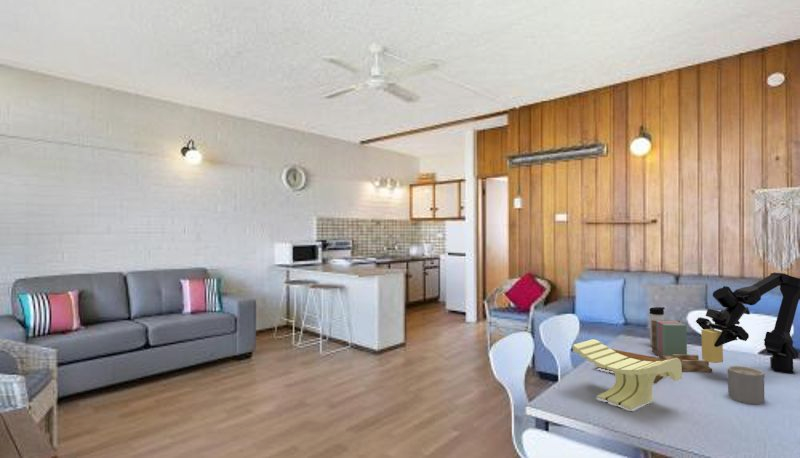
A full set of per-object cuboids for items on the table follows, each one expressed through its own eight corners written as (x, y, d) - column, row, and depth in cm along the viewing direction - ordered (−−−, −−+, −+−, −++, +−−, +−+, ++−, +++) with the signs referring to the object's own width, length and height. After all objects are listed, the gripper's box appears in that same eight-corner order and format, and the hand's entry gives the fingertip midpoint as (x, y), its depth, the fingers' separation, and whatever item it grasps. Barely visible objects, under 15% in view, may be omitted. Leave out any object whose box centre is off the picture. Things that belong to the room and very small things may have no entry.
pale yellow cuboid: (711, 358, 173) (710, 328, 173) (722, 362, 168) (722, 331, 168) (702, 359, 172) (701, 329, 172) (713, 363, 167) (712, 332, 167)
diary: (670, 373, 179) (670, 359, 179) (655, 385, 166) (655, 370, 166) (612, 360, 196) (612, 348, 195) (595, 371, 183) (595, 357, 183)
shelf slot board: (679, 352, 204) (678, 320, 204) (712, 372, 176) (711, 335, 176) (652, 352, 206) (651, 320, 206) (680, 371, 178) (679, 334, 178)
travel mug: (664, 349, 210) (663, 308, 210) (649, 347, 214) (648, 307, 214) (666, 346, 215) (665, 306, 215) (651, 344, 219) (650, 305, 219)
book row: (677, 350, 202) (676, 320, 202) (687, 356, 193) (686, 325, 193) (656, 349, 204) (656, 320, 204) (665, 355, 195) (664, 325, 195)
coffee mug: (759, 406, 143) (758, 377, 143) (723, 397, 151) (723, 369, 151) (771, 396, 151) (770, 368, 151) (737, 388, 159) (736, 361, 159)
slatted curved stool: (682, 408, 143) (681, 355, 143) (658, 421, 134) (657, 365, 134) (598, 382, 168) (597, 337, 168) (574, 392, 159) (572, 344, 159)
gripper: (698, 298, 180) (677, 326, 178) (741, 305, 162) (718, 337, 160) (715, 315, 181) (693, 343, 179) (759, 325, 163) (736, 356, 161)
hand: (709, 344), depth 170 cm, fingers closed on pale yellow cuboid, 5 cm apart
